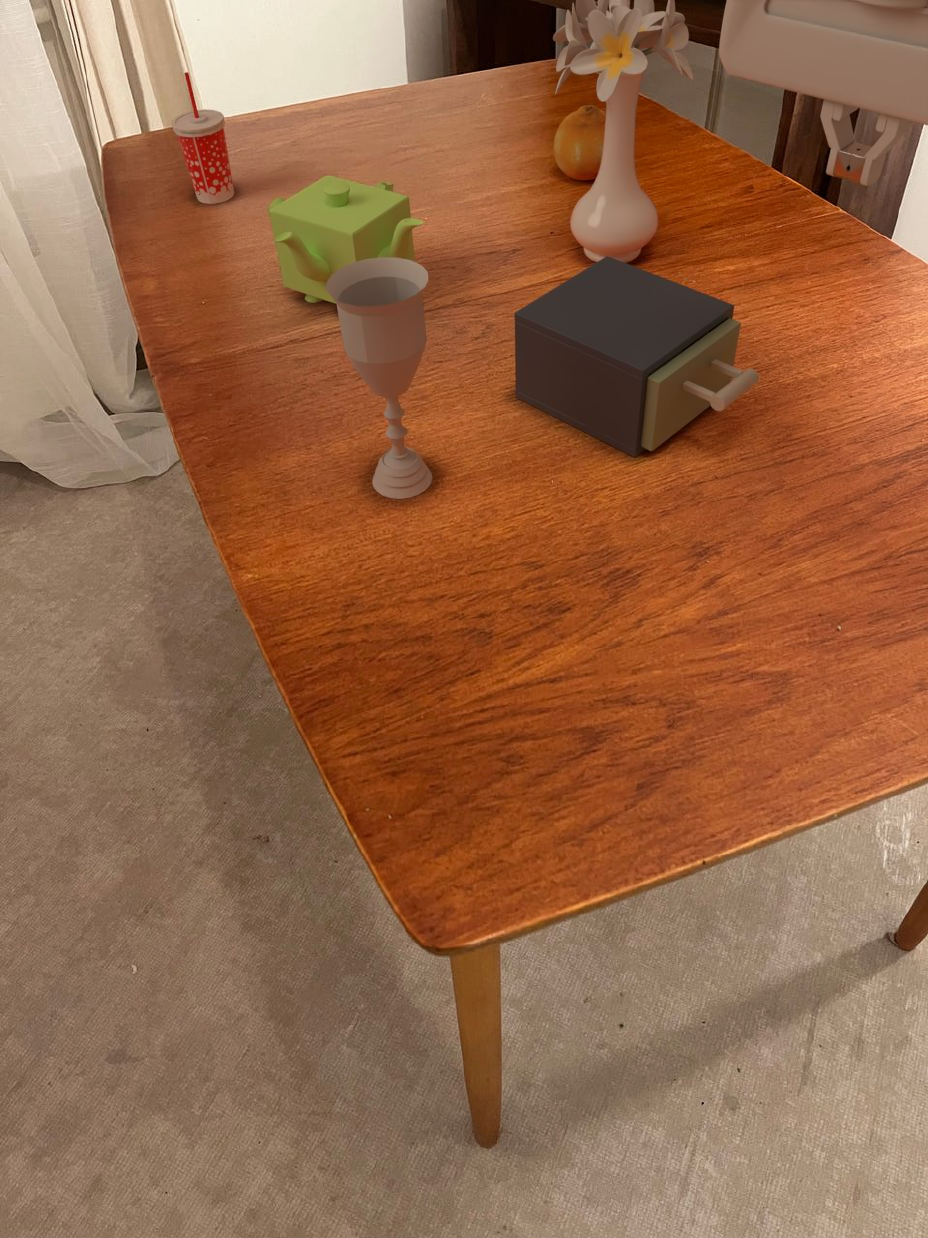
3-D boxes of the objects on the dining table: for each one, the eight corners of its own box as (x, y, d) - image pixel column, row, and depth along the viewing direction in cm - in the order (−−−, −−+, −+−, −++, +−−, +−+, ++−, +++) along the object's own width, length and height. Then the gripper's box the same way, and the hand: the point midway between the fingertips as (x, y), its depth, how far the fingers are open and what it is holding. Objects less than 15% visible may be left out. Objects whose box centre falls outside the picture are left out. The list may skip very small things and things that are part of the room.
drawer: (770, 408, 85) (785, 339, 80) (693, 472, 80) (704, 402, 75) (617, 341, 93) (622, 275, 88) (538, 395, 88) (539, 328, 83)
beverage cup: (245, 184, 123) (219, 62, 113) (233, 206, 119) (204, 82, 109) (199, 184, 124) (168, 63, 113) (184, 206, 120) (151, 83, 109)
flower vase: (642, 205, 114) (663, -48, 96) (690, 283, 102) (725, 10, 83) (532, 218, 113) (532, -35, 95) (567, 298, 101) (575, 26, 82)
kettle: (432, 317, 100) (422, 209, 91) (293, 341, 98) (271, 233, 90) (405, 248, 110) (394, 145, 101) (279, 269, 108) (258, 166, 100)
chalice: (367, 513, 80) (335, 314, 66) (352, 463, 84) (318, 267, 71) (454, 494, 81) (439, 294, 68) (434, 446, 85) (416, 249, 72)
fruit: (587, 178, 114) (607, 103, 111) (533, 167, 118) (550, 95, 116) (622, 192, 120) (642, 122, 118) (569, 182, 125) (587, 113, 122)
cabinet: (720, 391, 89) (735, 304, 82) (635, 458, 83) (643, 370, 77) (601, 339, 95) (607, 255, 89) (515, 397, 90) (514, 312, 83)
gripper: (1141, -67, 49) (1035, 205, 59) (782, -116, 59) (745, 124, 69) (1091, -36, 46) (989, 244, 56) (722, -93, 56) (692, 154, 66)
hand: (852, 177), depth 63 cm, fingers closed
